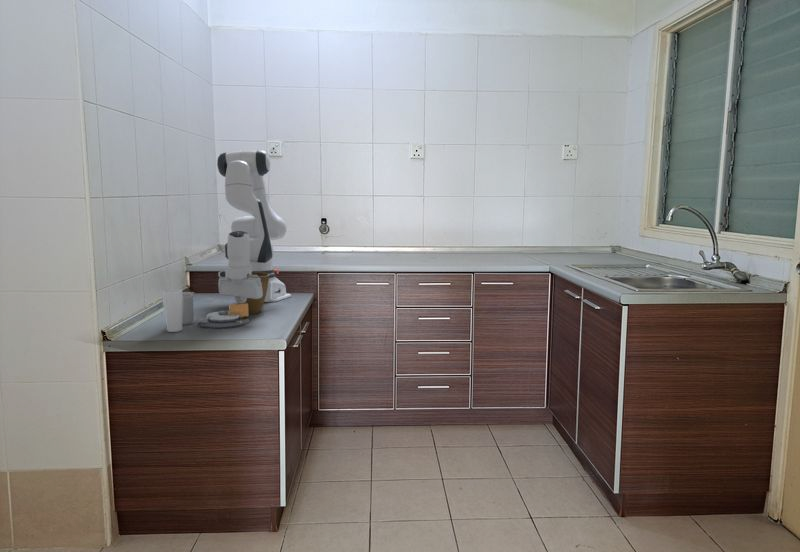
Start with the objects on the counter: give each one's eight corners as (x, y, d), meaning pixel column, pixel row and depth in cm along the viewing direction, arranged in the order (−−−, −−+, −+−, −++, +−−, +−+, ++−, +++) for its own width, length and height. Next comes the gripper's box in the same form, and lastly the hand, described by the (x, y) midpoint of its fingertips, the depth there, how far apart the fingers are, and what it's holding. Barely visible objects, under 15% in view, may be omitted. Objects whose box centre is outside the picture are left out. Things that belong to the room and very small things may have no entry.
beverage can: (196, 321, 227) (195, 291, 225) (190, 325, 220) (188, 294, 218) (180, 321, 227) (179, 291, 225) (173, 325, 220) (171, 294, 219)
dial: (211, 324, 216) (211, 310, 215) (203, 318, 226) (203, 304, 226) (252, 319, 224) (252, 305, 224) (243, 313, 234) (242, 300, 234)
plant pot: (251, 317, 235) (250, 278, 233) (226, 313, 243) (224, 275, 241) (277, 310, 247) (276, 273, 245) (253, 307, 255) (251, 271, 253)
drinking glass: (173, 333, 207) (171, 292, 205) (160, 331, 211) (158, 290, 208) (188, 330, 213) (186, 289, 211) (175, 327, 216) (173, 288, 214)
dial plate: (224, 315, 237) (224, 312, 237) (259, 320, 228) (259, 317, 228) (186, 325, 221) (186, 321, 221) (223, 330, 212) (223, 326, 212)
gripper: (265, 274, 226) (266, 309, 228) (226, 270, 236) (228, 304, 238) (254, 276, 220) (255, 312, 222) (215, 272, 230) (216, 306, 232)
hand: (241, 307), depth 230 cm, fingers closed
